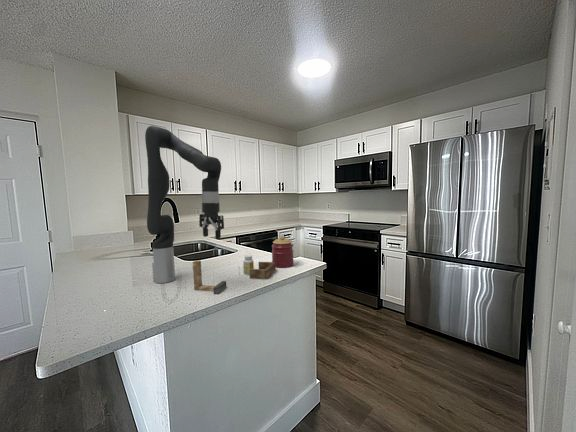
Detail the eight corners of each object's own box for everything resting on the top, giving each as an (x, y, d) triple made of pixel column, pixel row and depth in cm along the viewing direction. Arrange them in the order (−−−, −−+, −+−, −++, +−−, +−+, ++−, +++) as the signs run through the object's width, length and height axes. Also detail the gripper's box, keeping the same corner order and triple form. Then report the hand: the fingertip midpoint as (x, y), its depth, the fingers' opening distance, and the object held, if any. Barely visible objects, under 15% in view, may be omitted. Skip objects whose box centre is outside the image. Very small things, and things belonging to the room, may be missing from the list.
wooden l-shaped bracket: (190, 292, 109) (188, 263, 108) (200, 285, 116) (199, 258, 115) (217, 294, 106) (216, 264, 105) (226, 287, 113) (225, 259, 112)
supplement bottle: (243, 275, 130) (242, 257, 130) (244, 272, 136) (243, 255, 135) (253, 274, 131) (253, 256, 130) (254, 271, 136) (253, 254, 135)
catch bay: (249, 278, 125) (249, 269, 125) (259, 269, 140) (259, 261, 139) (267, 279, 123) (267, 270, 123) (275, 270, 138) (275, 262, 137)
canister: (284, 260, 157) (283, 233, 155) (298, 264, 147) (297, 235, 145) (267, 265, 148) (266, 236, 147) (281, 269, 138) (280, 238, 137)
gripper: (193, 201, 111) (195, 237, 113) (214, 202, 103) (215, 240, 105) (207, 201, 118) (208, 234, 119) (228, 201, 110) (228, 237, 111)
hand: (211, 237), depth 112 cm, fingers open, 8 cm apart
